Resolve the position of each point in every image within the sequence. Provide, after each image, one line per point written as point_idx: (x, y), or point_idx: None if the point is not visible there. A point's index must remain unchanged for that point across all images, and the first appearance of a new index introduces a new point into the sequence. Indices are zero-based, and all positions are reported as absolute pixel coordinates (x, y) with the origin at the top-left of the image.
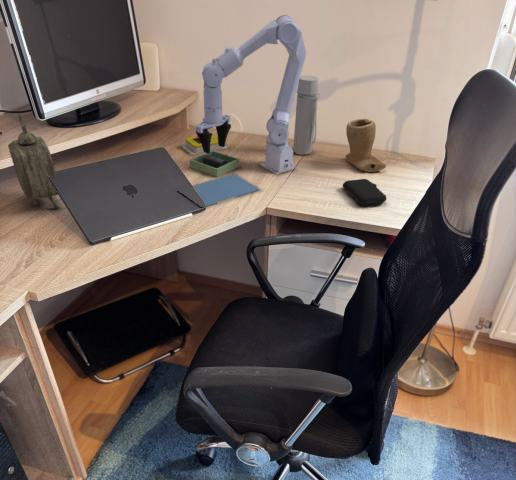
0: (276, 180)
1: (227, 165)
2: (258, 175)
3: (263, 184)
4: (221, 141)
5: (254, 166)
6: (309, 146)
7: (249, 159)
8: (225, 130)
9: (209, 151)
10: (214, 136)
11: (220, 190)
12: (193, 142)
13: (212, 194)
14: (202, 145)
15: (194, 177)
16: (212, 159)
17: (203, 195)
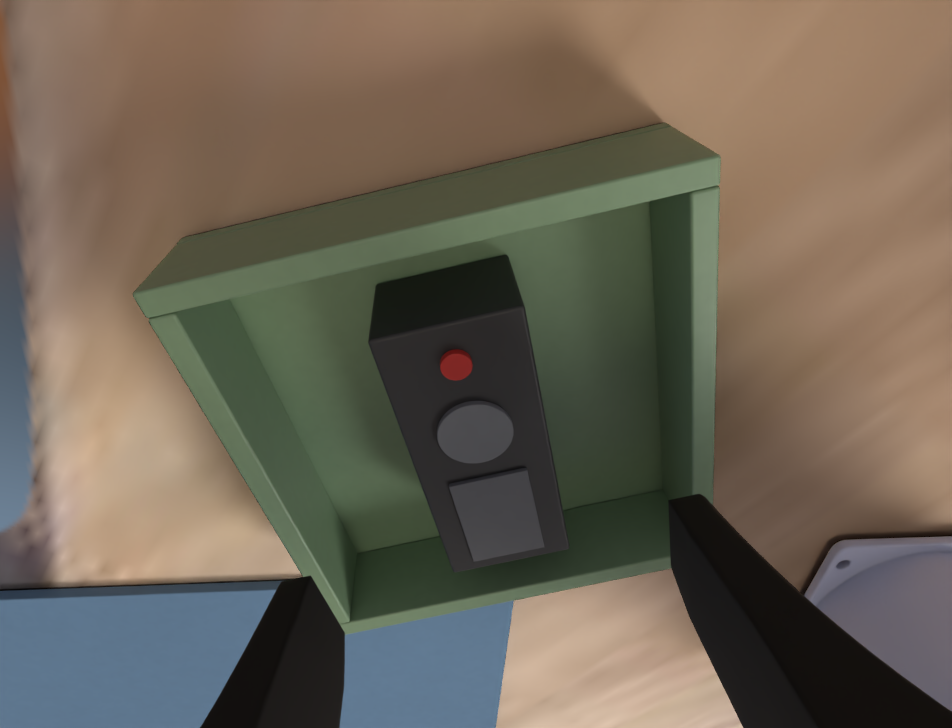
0: (681, 711)
1: (505, 593)
2: (661, 636)
3: (571, 718)
4: (708, 615)
5: (791, 525)
6: None
7: (922, 396)
8: None
9: (335, 666)
10: None
11: None
12: None
13: (158, 725)
14: (231, 695)
15: (138, 456)
16: (444, 464)
17: (84, 717)
